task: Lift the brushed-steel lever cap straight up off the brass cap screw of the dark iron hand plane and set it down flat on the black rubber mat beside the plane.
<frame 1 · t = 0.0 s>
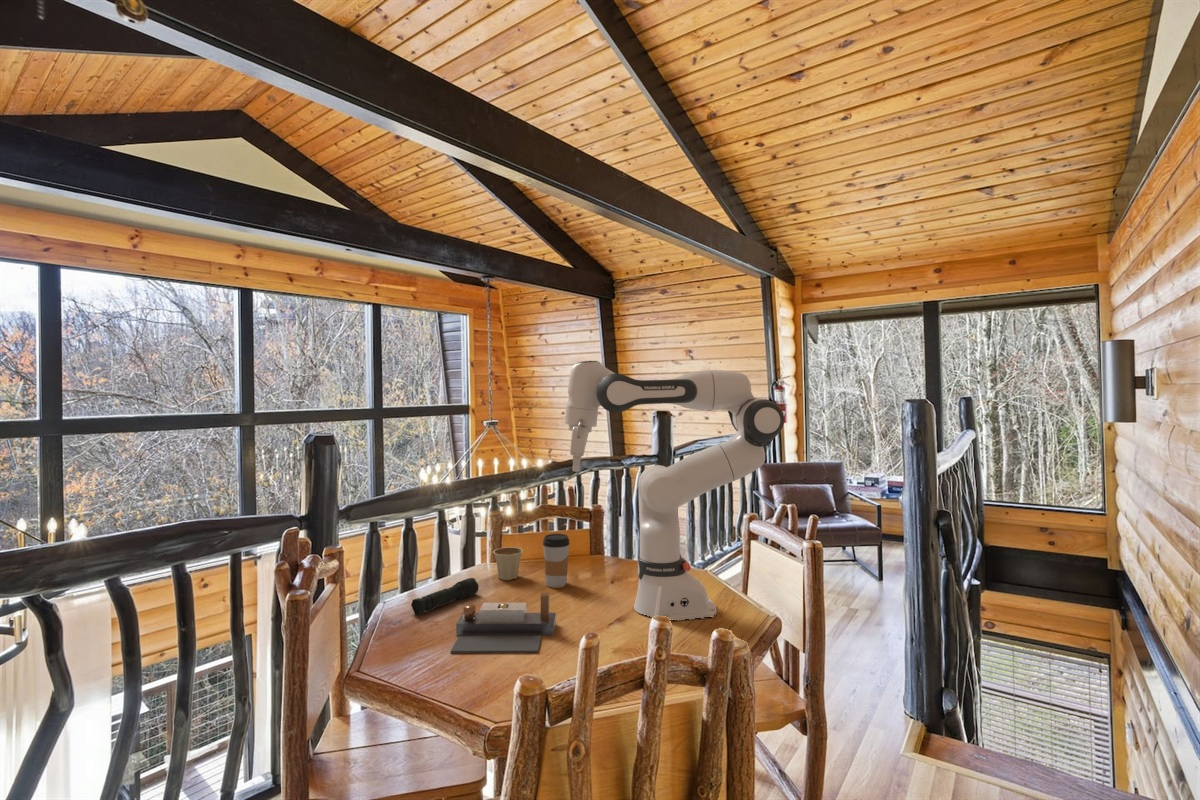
hand: (576, 468, 159), 39 cm above the table, tool pointing down, fingers open, 8 cm apart
rubber mat: (497, 645, 136), on the table
lever cap: (503, 618, 145), point 3 cm above the table, touching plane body
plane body: (507, 629, 145), on the table
coffee cup: (556, 585, 179), on the table
flashlight: (446, 605, 163), on the table
flower pot: (508, 578, 186), on the table
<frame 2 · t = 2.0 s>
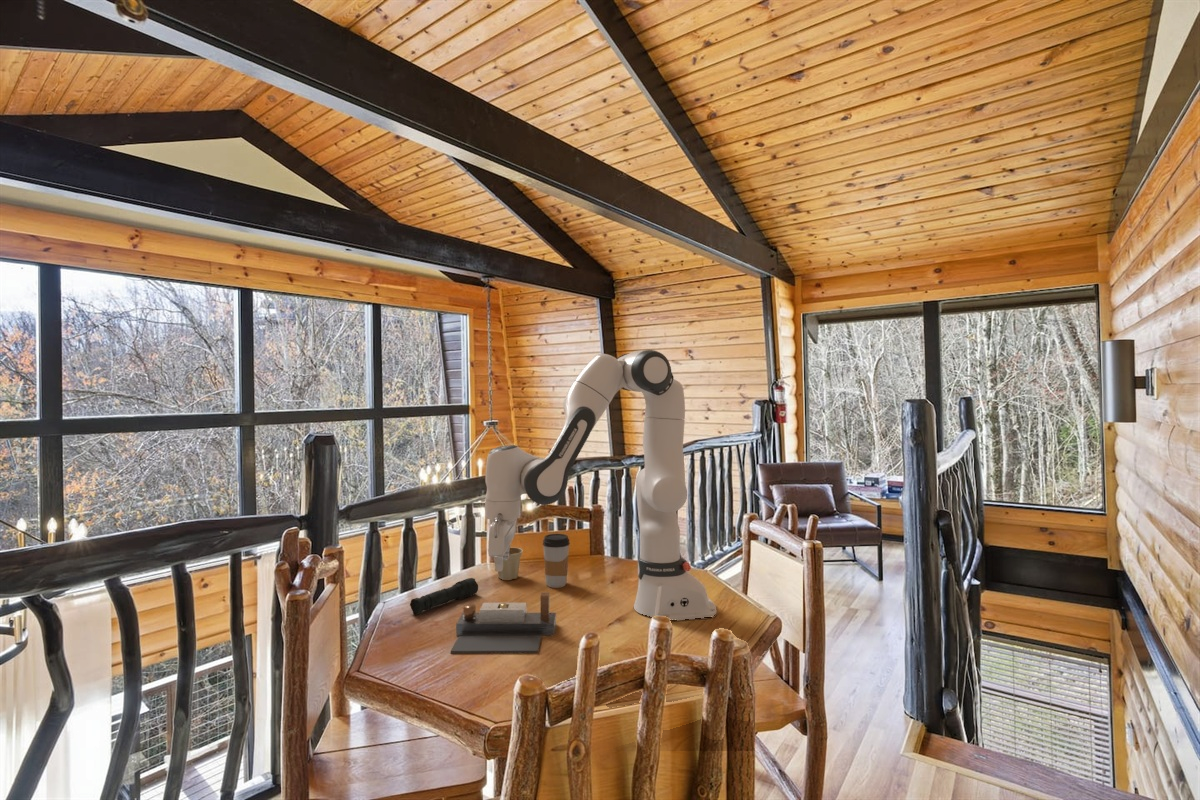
hand: (502, 564, 145), 16 cm above the table, tool pointing down, fingers open, 8 cm apart
nothing on the table moved.
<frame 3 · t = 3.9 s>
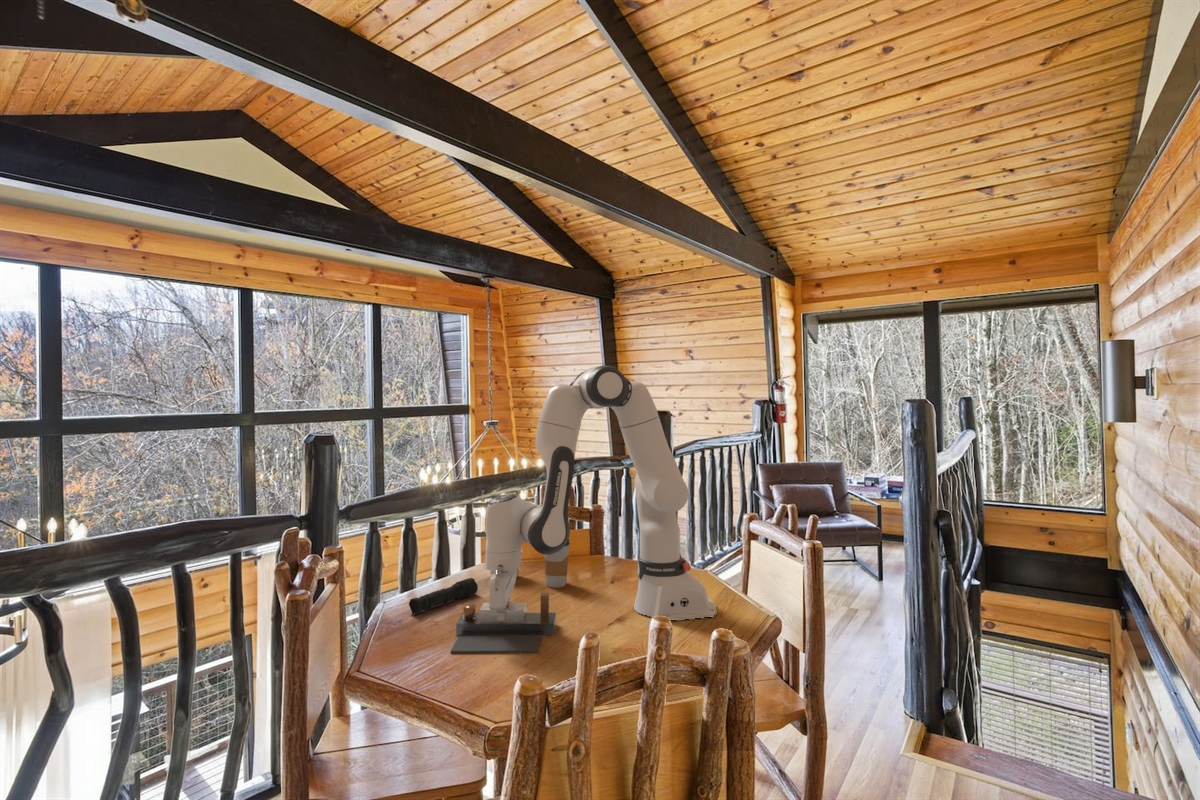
hand: (503, 614, 145), 4 cm above the table, tool pointing down, fingers closed on lever cap, 5 cm apart
lever cap: (503, 618, 145), point 3 cm above the table, touching gripper, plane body
everything else where it was.
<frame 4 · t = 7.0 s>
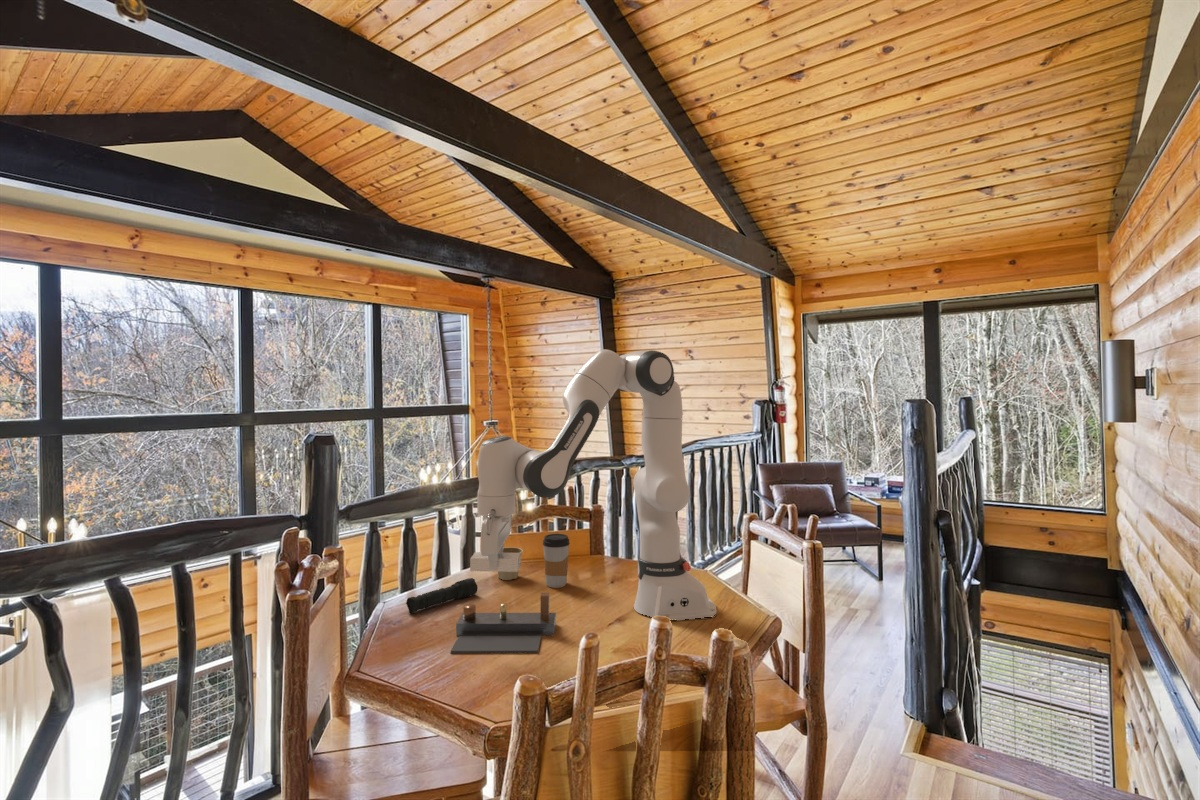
hand: (496, 564, 136), 19 cm above the table, tool pointing down, fingers closed on lever cap, 5 cm apart
lever cap: (495, 568, 136), point 18 cm above the table, touching gripper
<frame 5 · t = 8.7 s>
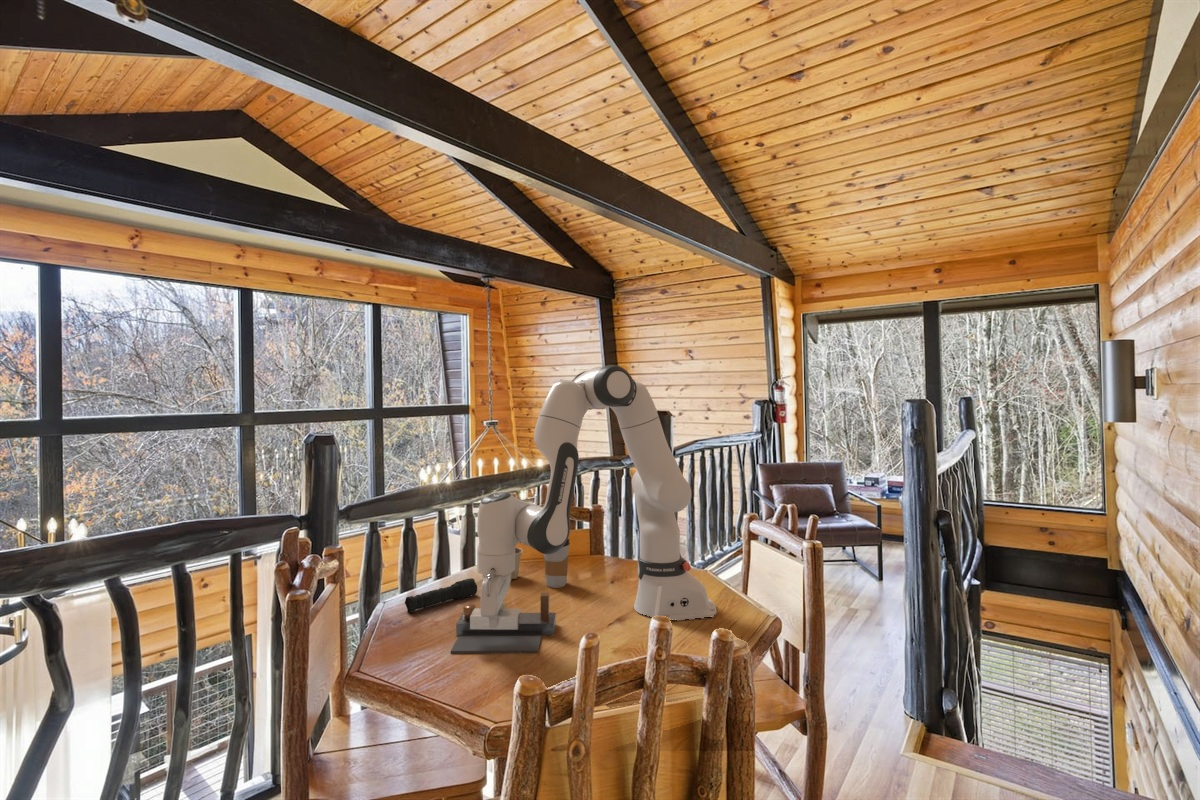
hand: (496, 621, 136), 6 cm above the table, tool pointing down, fingers closed on lever cap, 5 cm apart
lever cap: (495, 625, 136), point 5 cm above the table, touching gripper
when the fingers open (4 cm above the table, at t = 9.9 s): lever cap drops 2 cm, resting on rubber mat.
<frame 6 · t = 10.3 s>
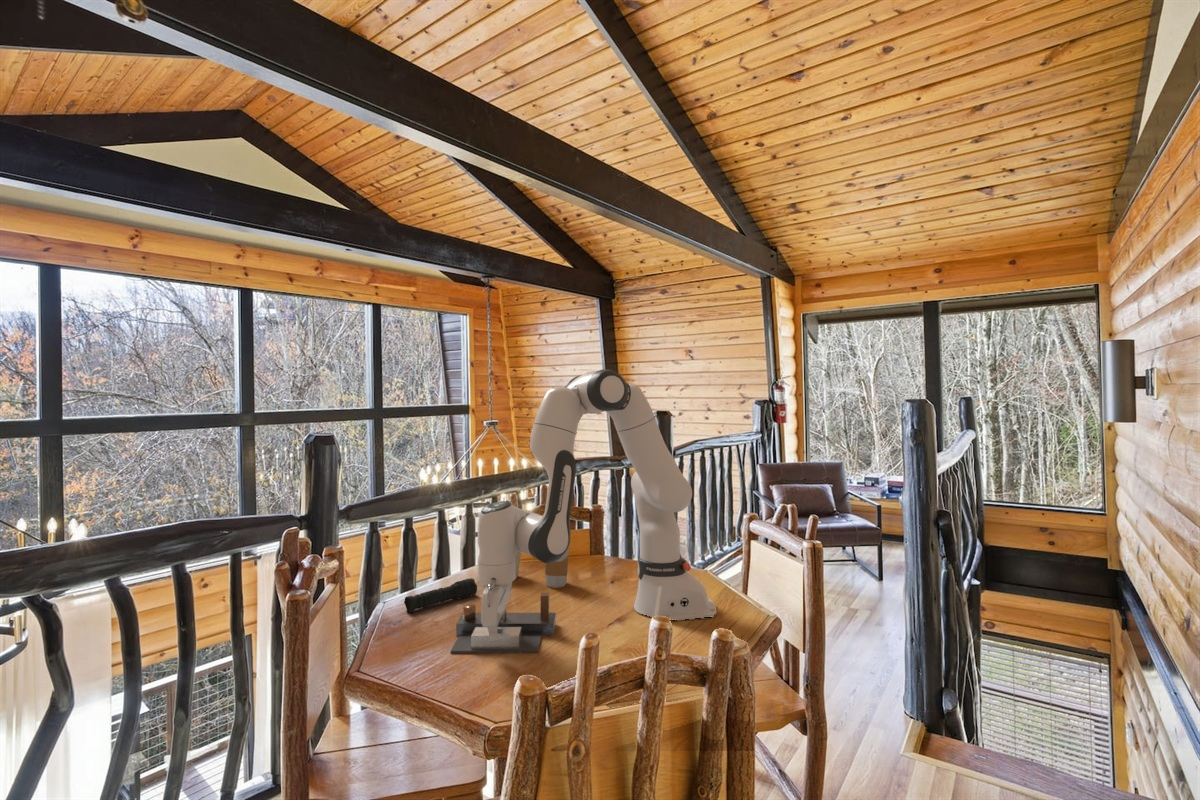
hand: (497, 630, 136), 4 cm above the table, tool pointing down, fingers open, 8 cm apart
lever cap: (496, 644, 136), point 1 cm above the table, touching rubber mat
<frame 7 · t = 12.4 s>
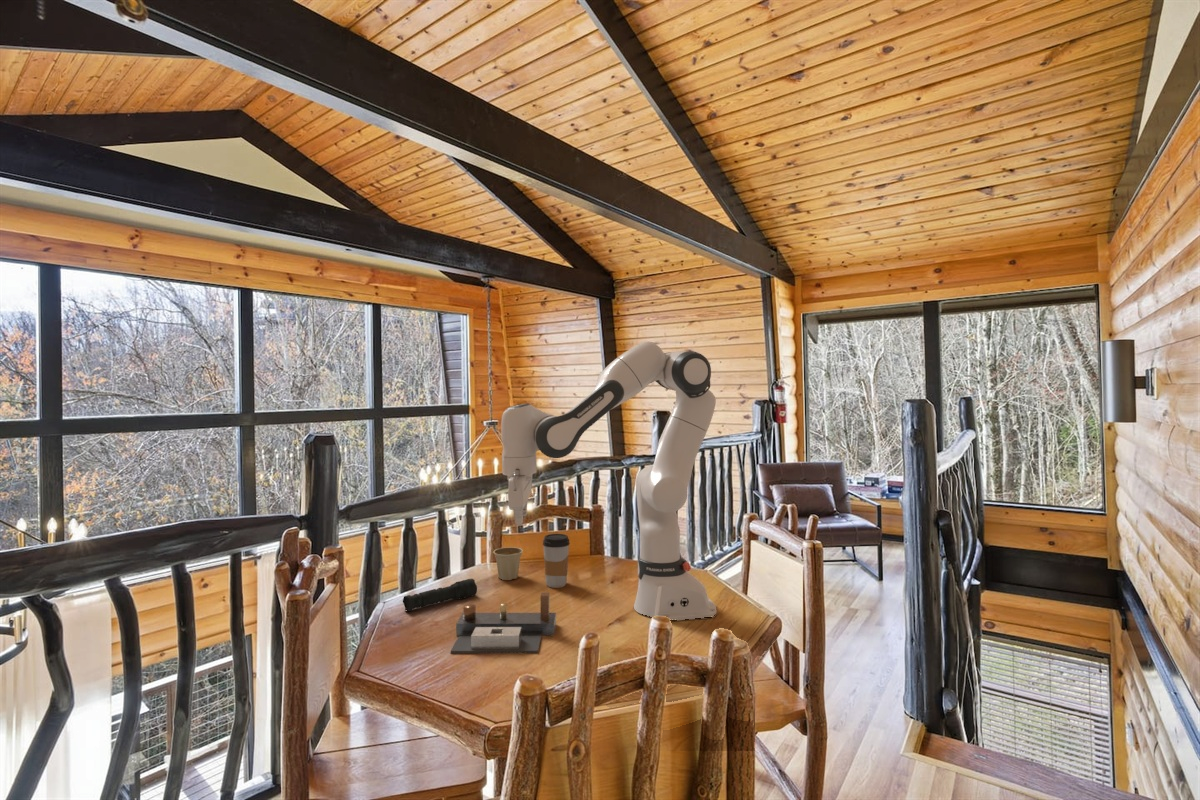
hand: (521, 519, 149), 27 cm above the table, tool pointing down, fingers open, 8 cm apart
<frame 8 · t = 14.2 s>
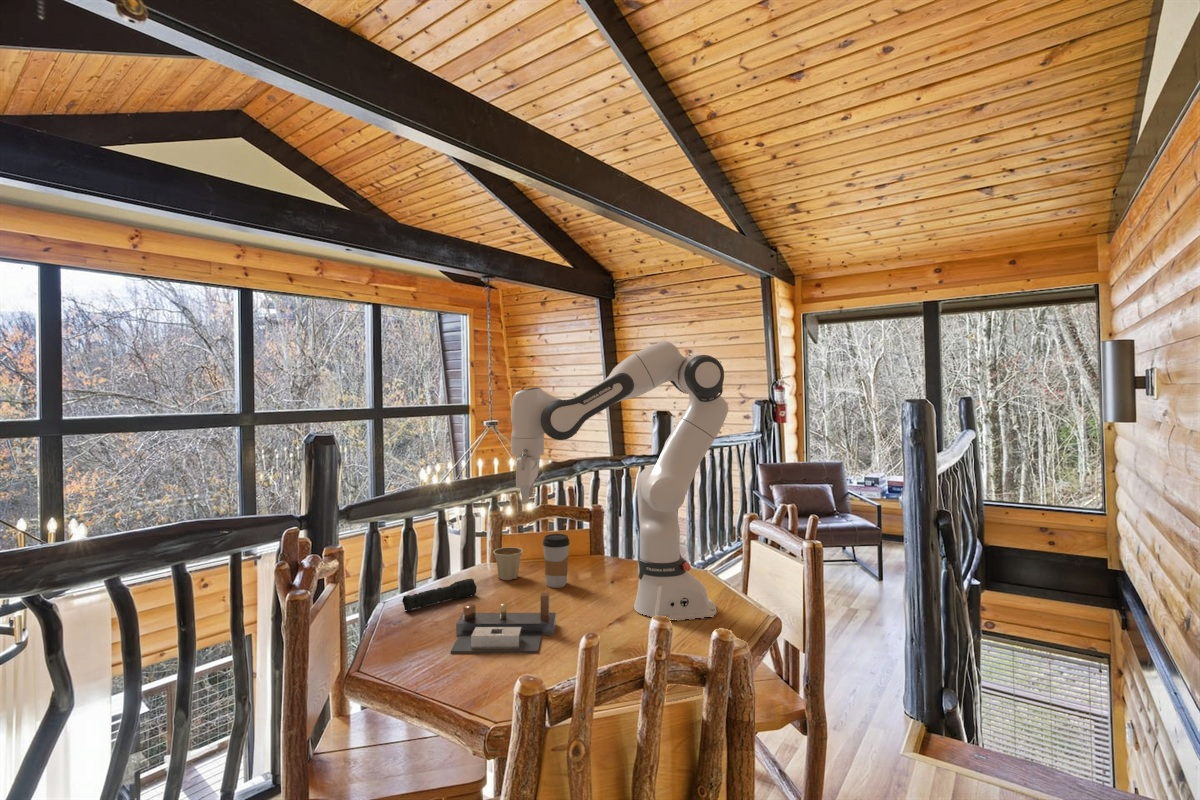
hand: (527, 499, 155), 31 cm above the table, tool pointing down, fingers open, 8 cm apart
at the end: lever cap inside the target area on the rubber mat (0.5 cm from its centre), point 0.6 cm above the rubber mat's base; lever cap touching rubber mat; lever cap tilted 0° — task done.
